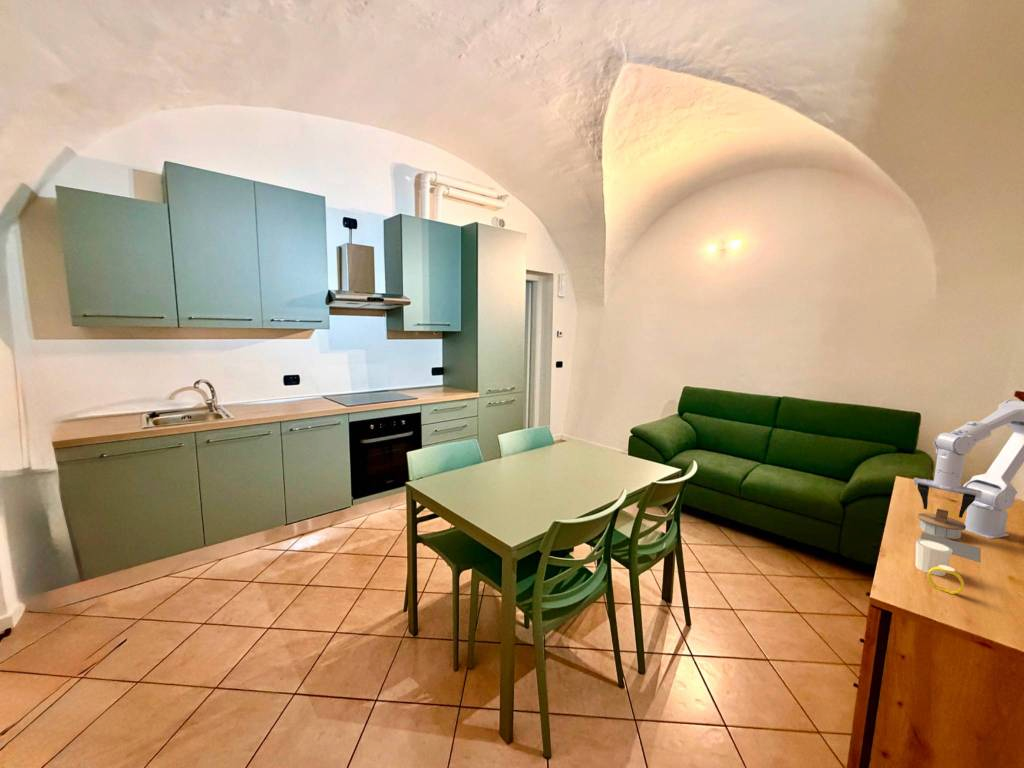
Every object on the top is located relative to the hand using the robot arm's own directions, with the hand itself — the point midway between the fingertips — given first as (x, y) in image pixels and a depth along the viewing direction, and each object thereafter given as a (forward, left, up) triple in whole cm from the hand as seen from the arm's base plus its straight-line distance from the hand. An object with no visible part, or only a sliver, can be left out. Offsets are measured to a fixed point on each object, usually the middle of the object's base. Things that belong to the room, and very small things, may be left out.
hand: (942, 512), depth 127 cm
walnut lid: (0, 0, -3) cm, 3 cm away
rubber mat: (+9, +7, -7) cm, 13 cm away
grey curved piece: (0, 0, -7) cm, 7 cm away
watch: (+38, +21, -7) cm, 44 cm away
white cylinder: (+30, +14, -7) cm, 34 cm away
